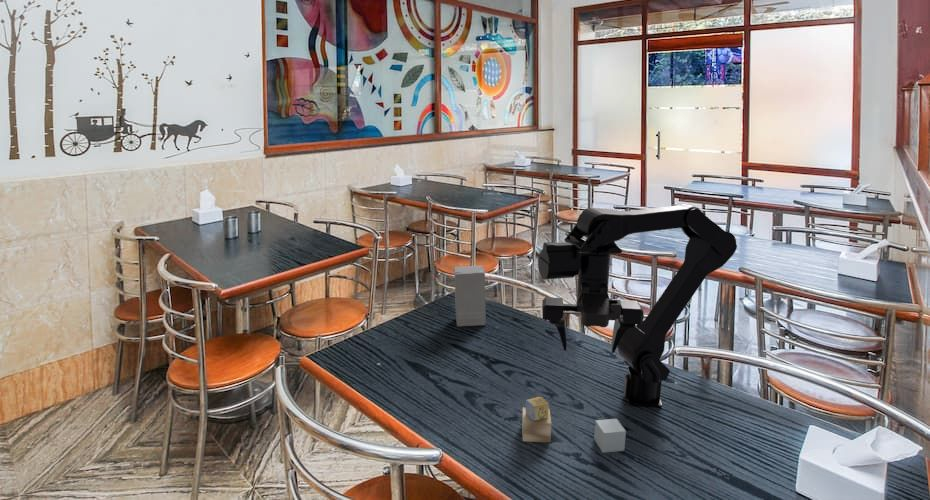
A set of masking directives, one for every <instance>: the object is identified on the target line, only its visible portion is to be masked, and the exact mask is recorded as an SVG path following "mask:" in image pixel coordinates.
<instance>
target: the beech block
mask: <svg viewBox="0 0 930 500" xmlns="http://www.w3.org/2000/svg"><path fill="white" fill-rule="evenodd" d="M521 413H522V416H521V419H522V420H521V421H522V422H521V430H522V431H521V432H522V435H521V436H522V442H535V443H551V442H552V440H551V439H552V418H551V410H550V409H549V411H548V418H544V419H540V420H536V421H533V420H532V419H531V418H530V417H529V416H528V415H527V414H526V406H525V407H524V406H523V407H522V411H521Z"/></svg>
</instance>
